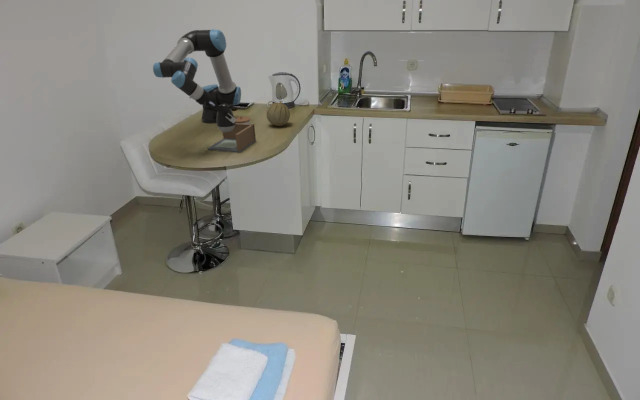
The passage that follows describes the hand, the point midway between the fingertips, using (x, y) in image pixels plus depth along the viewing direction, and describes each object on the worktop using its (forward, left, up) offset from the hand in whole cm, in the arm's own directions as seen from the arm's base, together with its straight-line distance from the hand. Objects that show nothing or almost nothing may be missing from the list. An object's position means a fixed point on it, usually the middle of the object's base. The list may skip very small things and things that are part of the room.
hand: (231, 119), depth 247 cm
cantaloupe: (+10, +42, -15) cm, 46 cm away
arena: (-1, -1, -15) cm, 15 cm away
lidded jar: (-8, +26, -15) cm, 31 cm away
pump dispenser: (-2, -2, -6) cm, 7 cm away
